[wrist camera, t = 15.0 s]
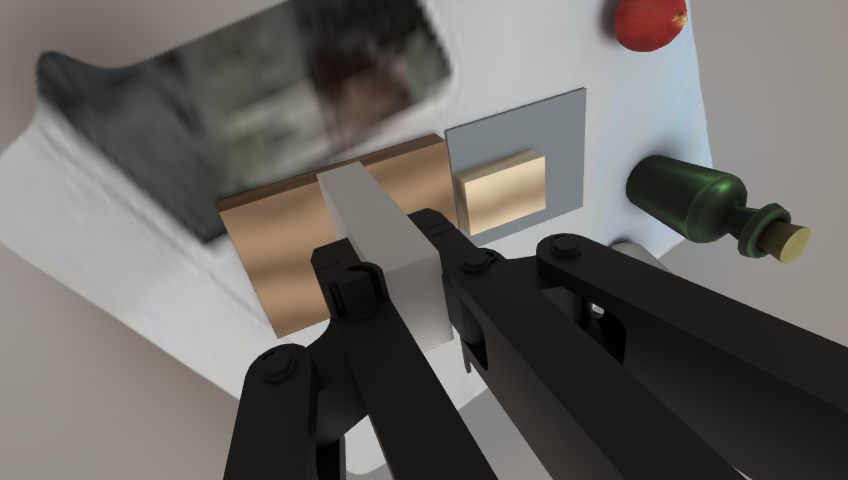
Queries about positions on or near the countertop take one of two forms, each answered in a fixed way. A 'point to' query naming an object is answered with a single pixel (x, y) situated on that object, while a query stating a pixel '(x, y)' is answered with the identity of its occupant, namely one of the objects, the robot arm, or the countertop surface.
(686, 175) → the potion bottle
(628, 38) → the onion
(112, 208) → the countertop surface
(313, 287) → the board
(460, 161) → the slate mat
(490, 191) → the beech block
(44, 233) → the countertop surface
